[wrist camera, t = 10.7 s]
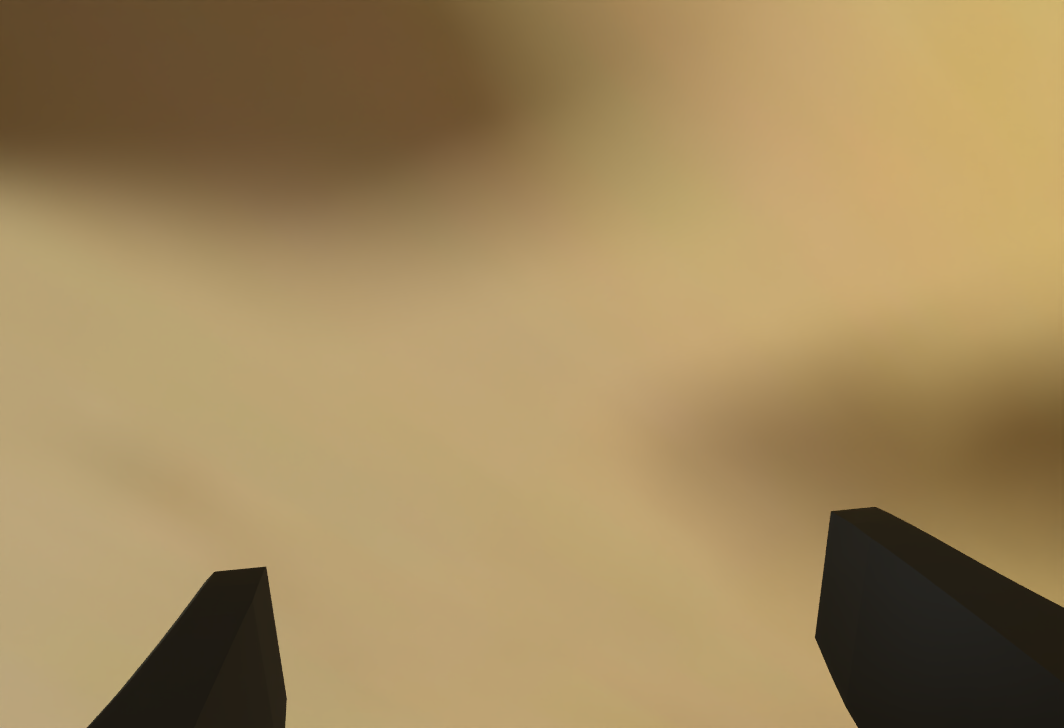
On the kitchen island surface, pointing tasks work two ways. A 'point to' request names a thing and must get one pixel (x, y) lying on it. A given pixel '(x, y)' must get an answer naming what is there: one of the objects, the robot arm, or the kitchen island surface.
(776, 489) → the kitchen island surface
